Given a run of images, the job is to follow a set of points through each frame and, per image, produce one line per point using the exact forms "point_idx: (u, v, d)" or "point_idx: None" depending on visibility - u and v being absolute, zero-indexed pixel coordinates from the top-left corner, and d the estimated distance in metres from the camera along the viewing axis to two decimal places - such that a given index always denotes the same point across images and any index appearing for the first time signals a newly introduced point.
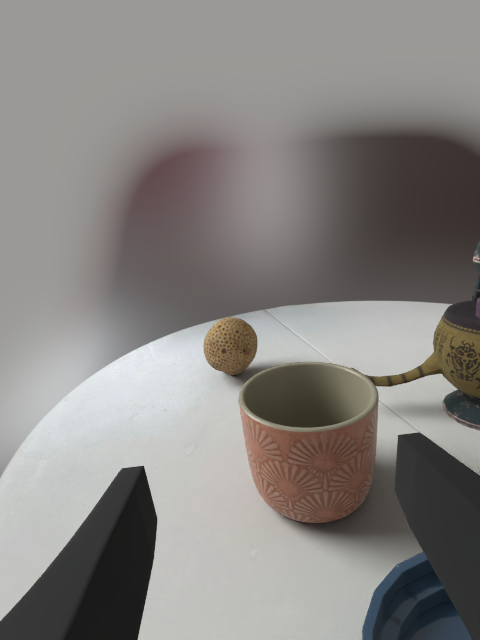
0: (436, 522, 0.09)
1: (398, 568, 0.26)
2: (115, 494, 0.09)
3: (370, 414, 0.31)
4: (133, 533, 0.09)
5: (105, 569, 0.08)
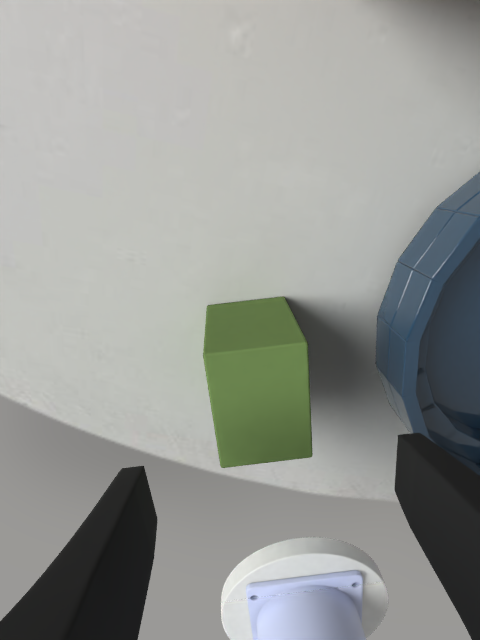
0: (436, 523, 0.09)
1: None
2: (115, 494, 0.09)
3: None
4: (133, 533, 0.09)
5: (105, 569, 0.08)
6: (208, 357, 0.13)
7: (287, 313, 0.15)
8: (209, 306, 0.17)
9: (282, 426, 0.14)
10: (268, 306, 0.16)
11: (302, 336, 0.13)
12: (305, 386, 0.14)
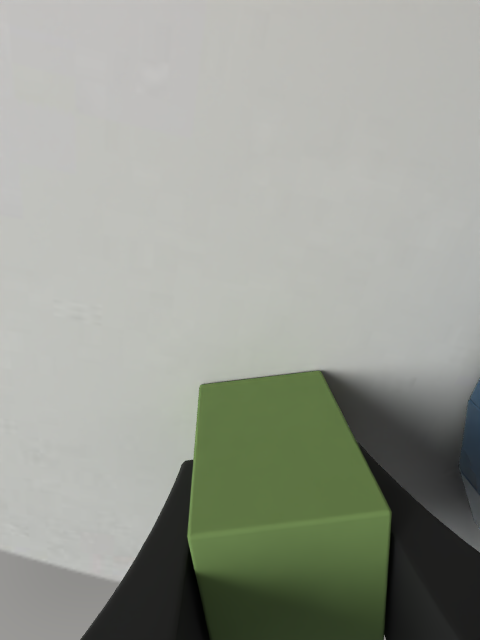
0: None
1: None
2: (186, 485, 0.09)
3: None
4: None
5: None
6: (197, 542, 0.07)
7: (335, 416, 0.09)
8: (203, 387, 0.11)
9: (334, 638, 0.08)
10: (299, 394, 0.10)
11: (377, 490, 0.07)
12: (381, 579, 0.07)
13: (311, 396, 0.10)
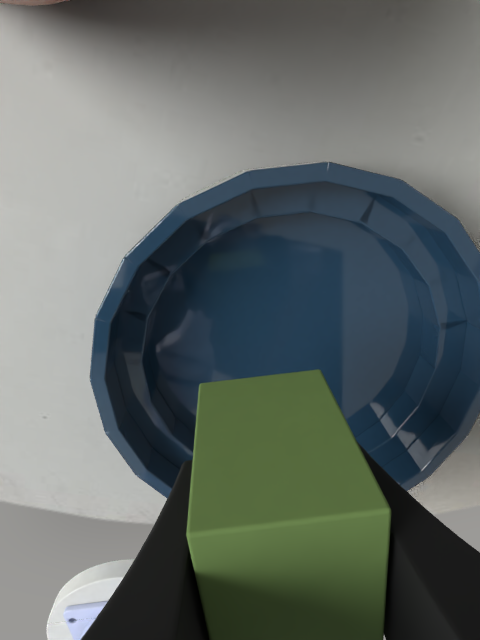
0: None
1: (179, 213, 0.13)
2: (186, 485, 0.09)
3: None
4: None
5: None
6: (196, 540, 0.07)
7: (334, 414, 0.09)
8: (202, 386, 0.11)
9: (333, 636, 0.08)
10: (298, 392, 0.10)
11: (376, 488, 0.07)
12: (380, 577, 0.07)
13: (311, 395, 0.10)
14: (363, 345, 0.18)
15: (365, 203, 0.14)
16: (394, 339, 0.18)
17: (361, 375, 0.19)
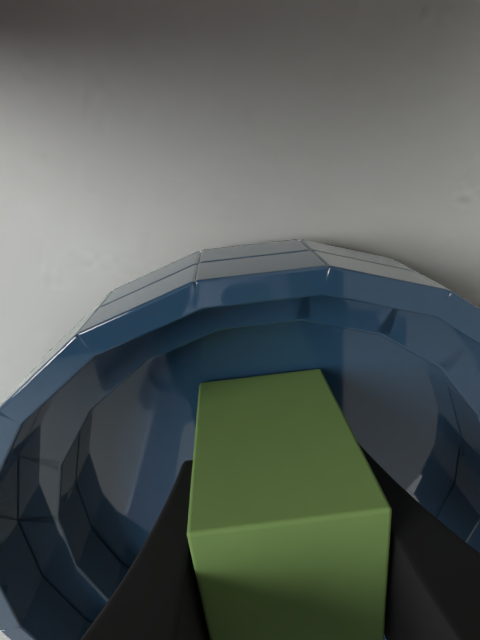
0: None
1: (81, 347, 0.08)
2: (186, 485, 0.09)
3: None
4: None
5: None
6: (197, 539, 0.07)
7: (335, 414, 0.09)
8: (203, 386, 0.11)
9: (333, 635, 0.08)
10: (298, 392, 0.10)
11: (377, 487, 0.07)
12: (381, 577, 0.07)
13: (311, 394, 0.10)
14: None
15: (386, 307, 0.09)
16: (421, 464, 0.13)
17: None
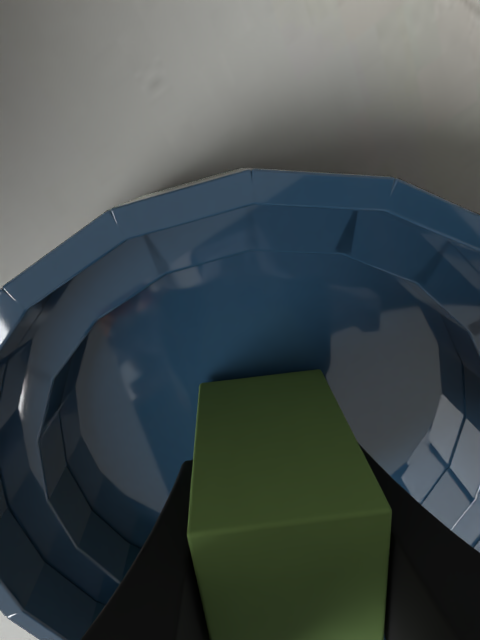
0: None
1: None
2: (186, 485, 0.09)
3: None
4: None
5: None
6: (197, 540, 0.07)
7: (335, 414, 0.09)
8: (203, 386, 0.11)
9: (333, 636, 0.08)
10: (298, 392, 0.10)
11: (377, 488, 0.07)
12: (381, 577, 0.07)
13: (311, 394, 0.10)
14: (350, 364, 0.11)
15: (141, 251, 0.08)
16: (383, 325, 0.11)
17: (385, 393, 0.12)
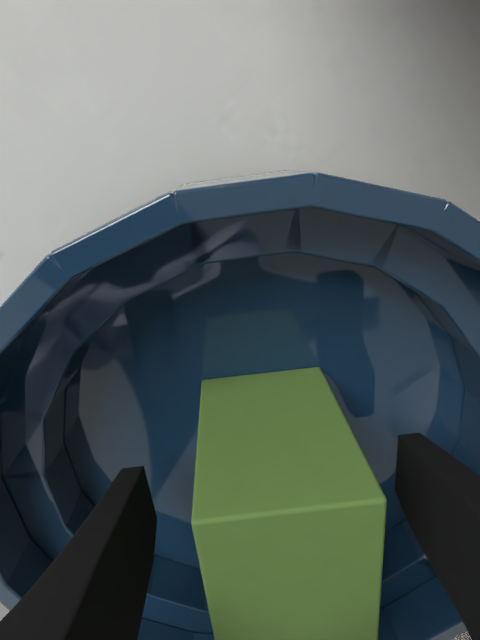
0: (436, 522, 0.09)
1: (309, 188, 0.07)
2: (115, 494, 0.09)
3: None
4: (133, 533, 0.09)
5: (105, 569, 0.08)
6: (201, 527, 0.07)
7: (333, 410, 0.09)
8: (205, 382, 0.11)
9: (331, 622, 0.08)
10: (298, 389, 0.10)
11: (373, 479, 0.07)
12: (376, 565, 0.08)
13: (310, 391, 0.10)
14: None
15: None
16: (389, 493, 0.14)
17: None
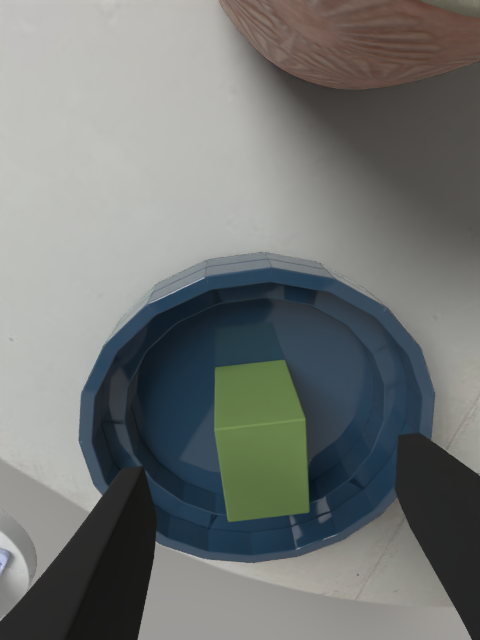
0: (436, 523, 0.09)
1: (269, 274, 0.15)
2: (115, 494, 0.09)
3: None
4: (133, 533, 0.09)
5: (105, 569, 0.08)
6: (218, 432, 0.15)
7: (288, 382, 0.17)
8: (217, 368, 0.19)
9: (283, 487, 0.16)
10: (270, 371, 0.18)
11: (301, 411, 0.15)
12: (303, 454, 0.15)
13: (277, 372, 0.18)
14: (309, 432, 0.21)
15: (383, 342, 0.18)
16: (332, 439, 0.21)
17: None
